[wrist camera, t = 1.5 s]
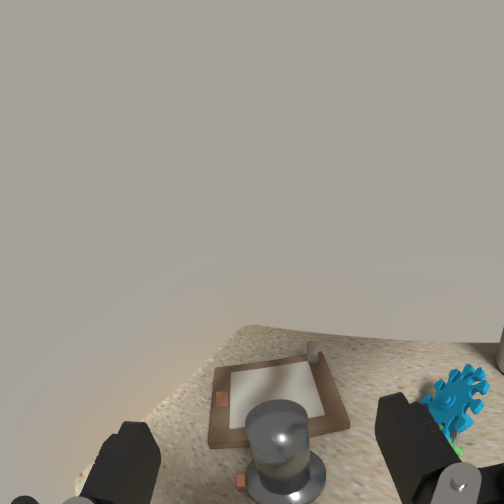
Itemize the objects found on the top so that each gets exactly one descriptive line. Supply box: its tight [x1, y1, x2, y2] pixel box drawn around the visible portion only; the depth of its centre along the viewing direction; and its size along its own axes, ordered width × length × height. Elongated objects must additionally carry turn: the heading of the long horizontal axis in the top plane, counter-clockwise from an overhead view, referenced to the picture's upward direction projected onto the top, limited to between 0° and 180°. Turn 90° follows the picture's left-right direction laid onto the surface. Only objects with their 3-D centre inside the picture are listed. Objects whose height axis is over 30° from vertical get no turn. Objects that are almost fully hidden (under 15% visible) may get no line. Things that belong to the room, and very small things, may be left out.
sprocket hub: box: [236, 399, 326, 504], centre depth 23 cm, size 9×8×10 cm
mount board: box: [208, 341, 350, 449], centre depth 37 cm, size 16×15×4 cm
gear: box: [421, 364, 490, 456], centre depth 24 cm, size 11×6×10 cm
